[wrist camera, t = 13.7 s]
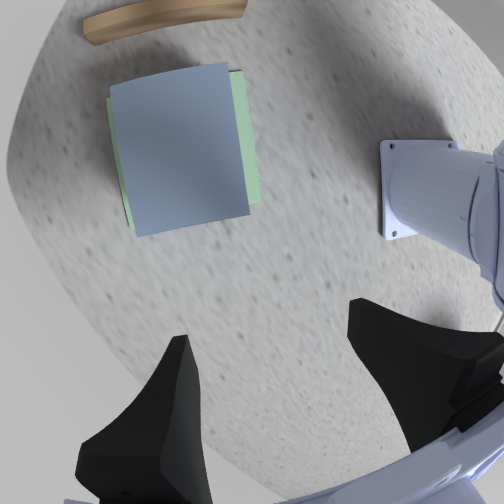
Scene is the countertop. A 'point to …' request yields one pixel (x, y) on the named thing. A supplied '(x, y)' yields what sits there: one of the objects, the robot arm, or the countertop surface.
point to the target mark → (244, 139)
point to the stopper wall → (157, 17)
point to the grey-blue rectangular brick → (179, 148)
